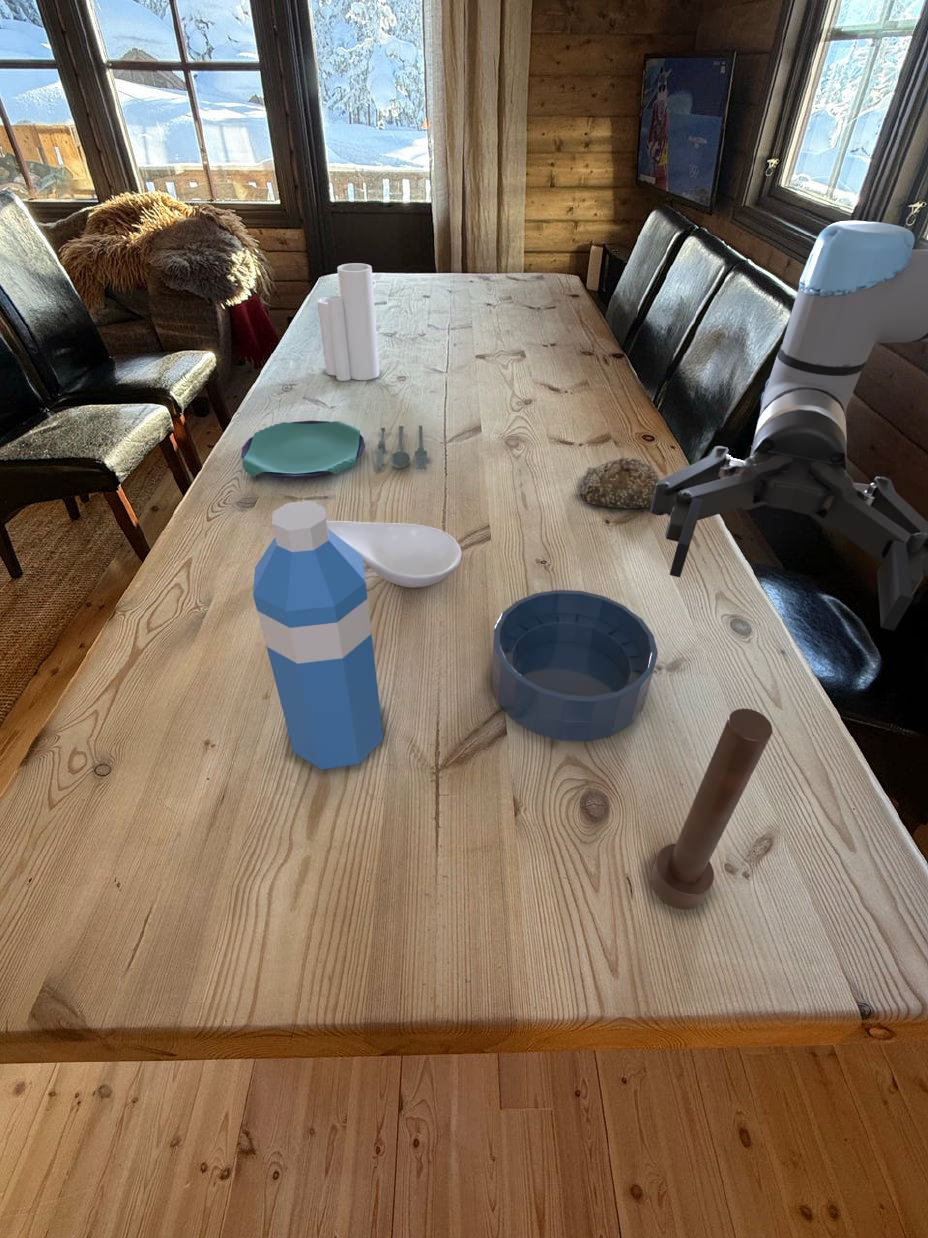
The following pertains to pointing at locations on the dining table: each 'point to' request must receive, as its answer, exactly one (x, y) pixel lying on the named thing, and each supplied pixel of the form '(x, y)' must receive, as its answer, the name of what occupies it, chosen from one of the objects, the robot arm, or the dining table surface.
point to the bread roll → (620, 484)
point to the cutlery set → (315, 449)
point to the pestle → (711, 812)
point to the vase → (350, 325)
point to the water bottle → (319, 638)
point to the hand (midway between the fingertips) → (782, 586)
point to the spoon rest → (402, 550)
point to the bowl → (572, 664)
